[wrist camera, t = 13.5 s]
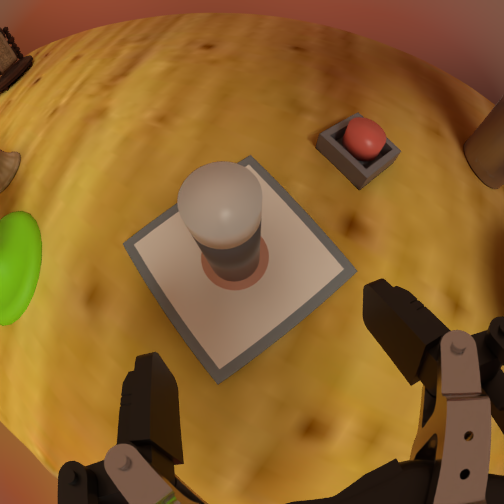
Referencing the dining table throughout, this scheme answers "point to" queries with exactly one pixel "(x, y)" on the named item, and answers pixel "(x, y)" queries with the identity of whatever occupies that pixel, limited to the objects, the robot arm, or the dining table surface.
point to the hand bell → (8, 167)
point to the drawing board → (245, 291)
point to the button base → (345, 162)
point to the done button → (363, 139)
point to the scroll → (11, 60)
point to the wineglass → (18, 264)
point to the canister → (224, 217)
